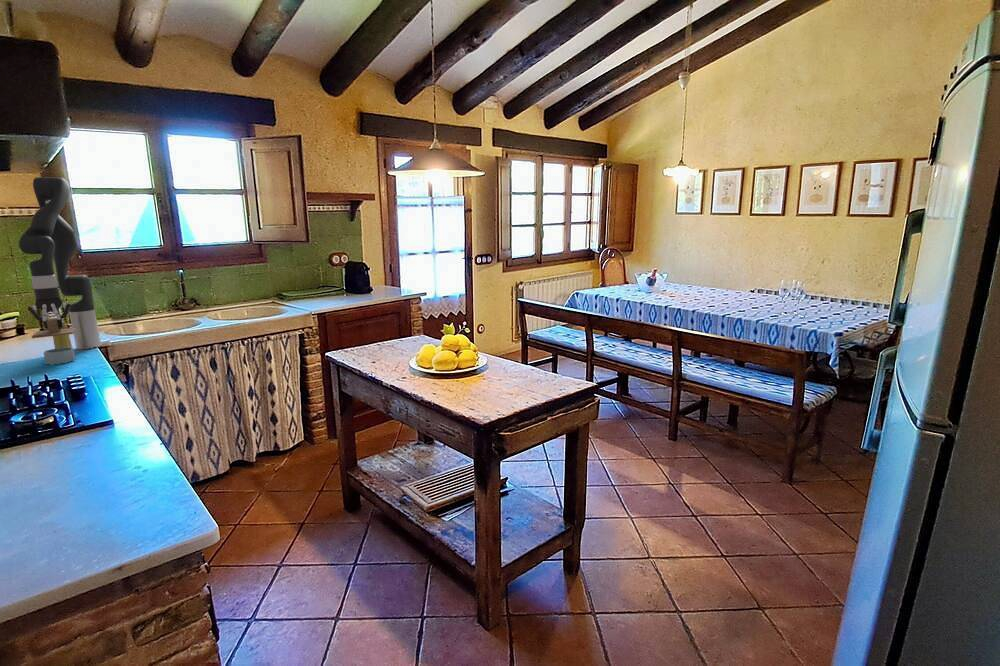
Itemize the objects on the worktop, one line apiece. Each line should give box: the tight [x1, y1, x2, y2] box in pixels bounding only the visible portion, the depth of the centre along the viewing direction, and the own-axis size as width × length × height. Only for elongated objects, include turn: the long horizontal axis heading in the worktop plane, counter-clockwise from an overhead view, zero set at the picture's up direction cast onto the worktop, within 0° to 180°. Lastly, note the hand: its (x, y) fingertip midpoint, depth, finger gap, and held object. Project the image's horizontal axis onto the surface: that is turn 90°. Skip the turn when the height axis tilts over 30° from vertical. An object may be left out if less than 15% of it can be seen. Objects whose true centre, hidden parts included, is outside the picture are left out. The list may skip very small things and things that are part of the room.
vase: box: [52, 322, 73, 349], centre depth 222 cm, size 6×6×14 cm
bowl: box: [43, 347, 76, 365], centre depth 213 cm, size 9×9×5 cm
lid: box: [31, 317, 77, 339], centre depth 211 cm, size 12×12×6 cm
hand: (54, 329), depth 211 cm, fingers closed on lid, 3 cm apart
